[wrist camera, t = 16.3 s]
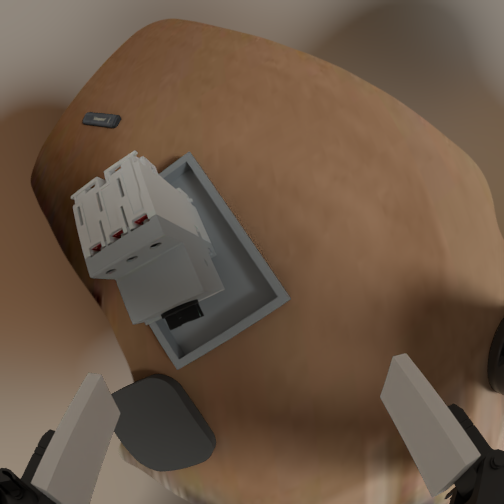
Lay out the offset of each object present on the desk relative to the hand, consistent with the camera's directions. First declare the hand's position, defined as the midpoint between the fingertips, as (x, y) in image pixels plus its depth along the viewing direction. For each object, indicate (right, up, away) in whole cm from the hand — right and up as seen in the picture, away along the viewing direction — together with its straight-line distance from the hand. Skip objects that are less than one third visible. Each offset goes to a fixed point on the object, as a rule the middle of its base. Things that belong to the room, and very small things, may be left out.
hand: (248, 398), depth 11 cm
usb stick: (-27, +30, +30) cm, 50 cm away
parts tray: (-8, +5, +24) cm, 26 cm away
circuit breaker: (-8, +5, +24) cm, 25 cm away
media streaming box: (-13, -19, +23) cm, 32 cm away
